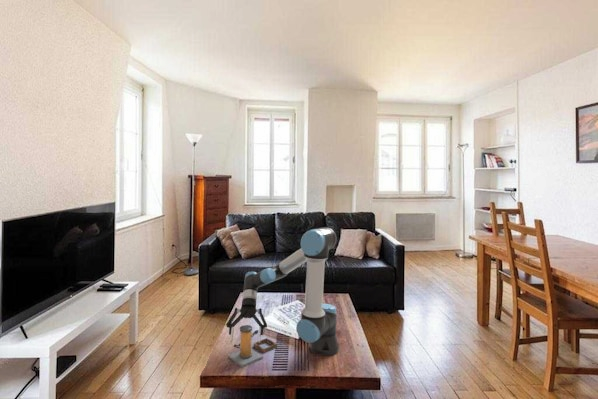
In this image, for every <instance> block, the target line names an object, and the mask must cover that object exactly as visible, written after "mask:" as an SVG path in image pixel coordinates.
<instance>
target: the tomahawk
mask: <svg viewBox="0 0 598 399" xmlns="http://www.w3.org/2000/svg"><path fill="white" fill-rule="evenodd" d="M258 333H259V329H256V330H255V331H254V332H253V333H251V338H252V337H254V336H255V335H257V334H258ZM233 347H234V348H237V349H240V343H238V344H234V345H233Z"/></svg>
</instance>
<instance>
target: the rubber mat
mask: <svg viewBox="0 0 598 399" xmlns="http://www.w3.org/2000/svg"><path fill="white" fill-rule="evenodd" d="M251 352H252V356H251V357H250V358H248V359H242V358H240V356H239V355H240V350H238V351H235V352H233V353H231V354H229V355H228V358H229V359H230V360H232V361H233V362H234V363H236V364H237V365H238V366H240V367H241V368H244V367H247V366H248V365H251V364H253V363H255V362H257V361H260V360H262V359H263V358H264V357H263V355H261V354H260V353H258V352H256V350H254V349H252V348H251Z"/></svg>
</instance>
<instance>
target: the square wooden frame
mask: <svg viewBox="0 0 598 399" xmlns="http://www.w3.org/2000/svg"><path fill="white" fill-rule="evenodd" d="M265 343H268V344H270V346H268V347H263V346H261V345H263V344H265ZM253 347H254V348H255V349H257V350H258V351H260V352H262V353H268V352H270V351H272V350H274V349H277V348H278V343H277V342H275V341H273V340H272V339H269V338H268V337H266V338H263V339H260V343H259V342H258V341H255V342H254V343H253Z"/></svg>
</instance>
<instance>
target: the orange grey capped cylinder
mask: <svg viewBox="0 0 598 399" xmlns="http://www.w3.org/2000/svg"><path fill="white" fill-rule="evenodd" d="M252 330H253V326H252V325H249V324H247V325H246V324H244V325H241V326H239V332H240V343H239V344H240V346H239V347H240V348H239V349H240V350H239V351H240V355H239V356H240V358H242V359H248V358H250V357H251V356H252V352H251V349H252V337H251V335H252Z"/></svg>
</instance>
